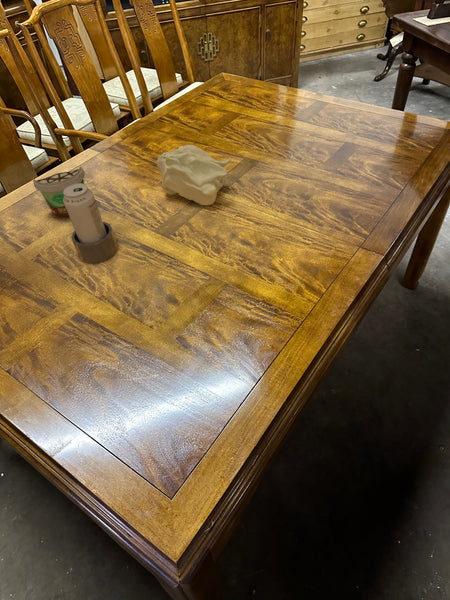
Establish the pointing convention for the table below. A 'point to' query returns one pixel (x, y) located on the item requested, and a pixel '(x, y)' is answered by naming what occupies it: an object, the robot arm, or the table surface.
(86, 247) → the can holder
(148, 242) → the table surface
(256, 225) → the table surface
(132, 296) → the table surface
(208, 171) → the folded clay sculpture
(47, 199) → the food container
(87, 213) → the energy drink can
